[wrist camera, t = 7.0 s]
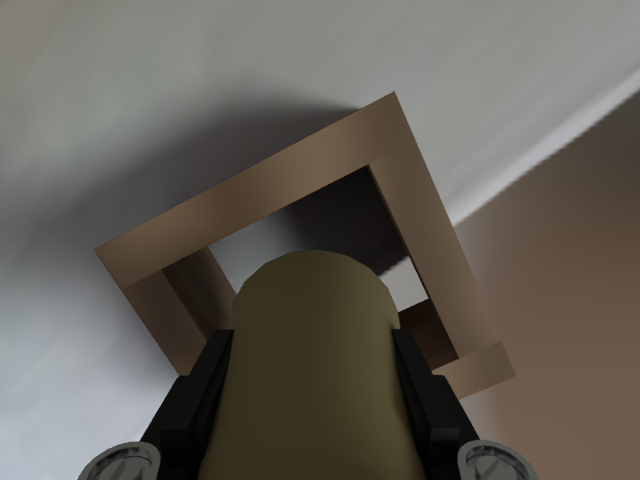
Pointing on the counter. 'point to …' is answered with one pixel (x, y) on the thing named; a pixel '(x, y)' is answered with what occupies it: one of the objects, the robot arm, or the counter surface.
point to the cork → (312, 378)
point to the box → (279, 191)
